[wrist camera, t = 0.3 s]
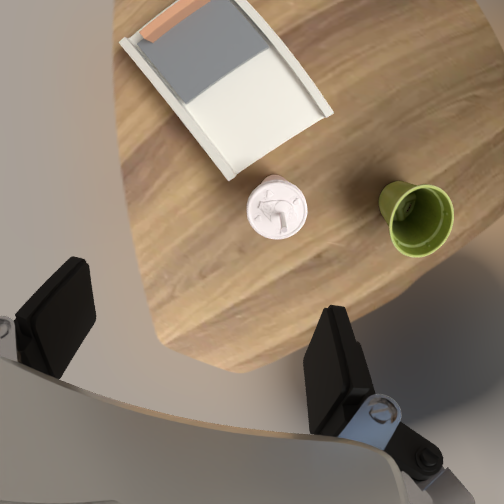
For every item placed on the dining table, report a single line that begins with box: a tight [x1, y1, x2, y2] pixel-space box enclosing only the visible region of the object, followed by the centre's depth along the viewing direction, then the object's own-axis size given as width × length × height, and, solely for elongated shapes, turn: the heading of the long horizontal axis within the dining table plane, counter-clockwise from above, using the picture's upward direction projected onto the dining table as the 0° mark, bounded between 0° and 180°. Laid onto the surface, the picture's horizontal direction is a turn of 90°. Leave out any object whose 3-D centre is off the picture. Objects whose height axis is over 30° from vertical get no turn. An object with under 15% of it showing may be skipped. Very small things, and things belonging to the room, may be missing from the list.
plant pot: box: [379, 181, 454, 258], centre depth 35 cm, size 9×9×9 cm
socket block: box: [119, 0, 334, 181], centre depth 30 cm, size 22×14×6 cm, turn 35°
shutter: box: [137, 0, 269, 104], centre depth 25 cm, size 10×11×4 cm
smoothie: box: [247, 175, 307, 239], centre depth 33 cm, size 6×6×14 cm
